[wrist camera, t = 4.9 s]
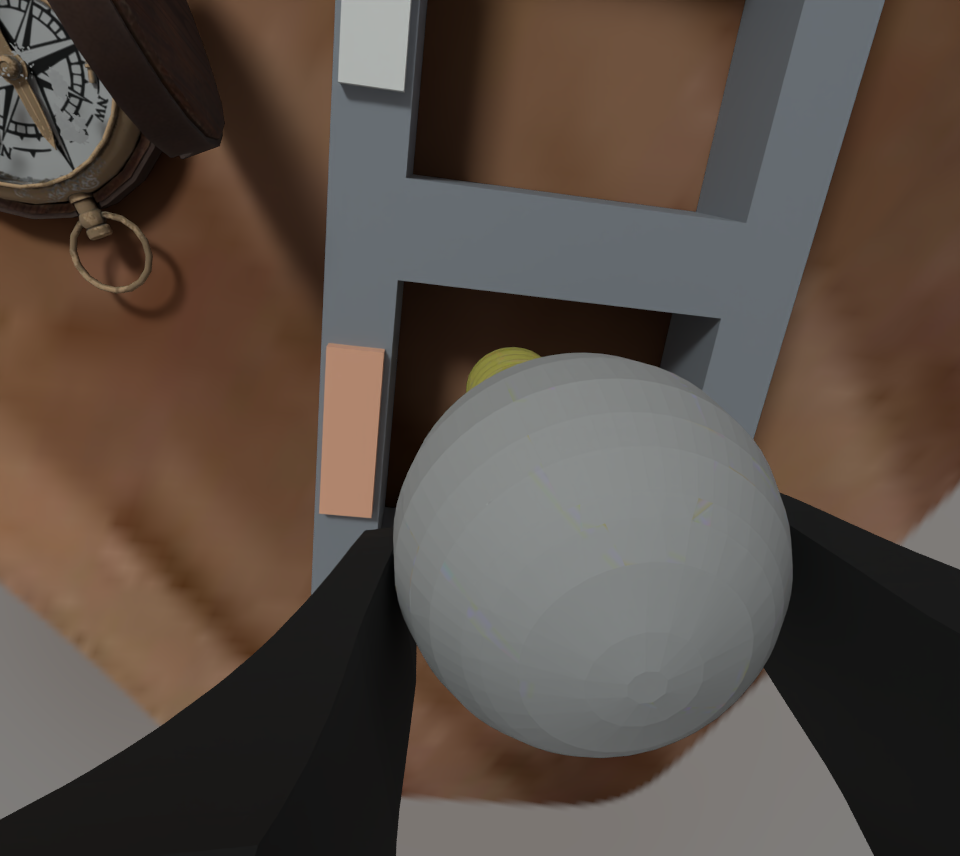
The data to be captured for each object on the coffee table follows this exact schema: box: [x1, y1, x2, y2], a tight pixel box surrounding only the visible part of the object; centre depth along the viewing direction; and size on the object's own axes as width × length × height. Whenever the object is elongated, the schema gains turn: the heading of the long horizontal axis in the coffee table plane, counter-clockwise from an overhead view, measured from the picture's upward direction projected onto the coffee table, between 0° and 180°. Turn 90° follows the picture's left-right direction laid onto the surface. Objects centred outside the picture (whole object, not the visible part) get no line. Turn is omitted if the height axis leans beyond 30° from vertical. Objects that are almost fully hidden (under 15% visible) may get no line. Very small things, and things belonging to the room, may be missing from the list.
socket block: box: [311, 0, 885, 595], centre depth 15 cm, size 10×19×3 cm, turn 173°
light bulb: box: [393, 347, 793, 758], centre depth 12 cm, size 5×5×10 cm
